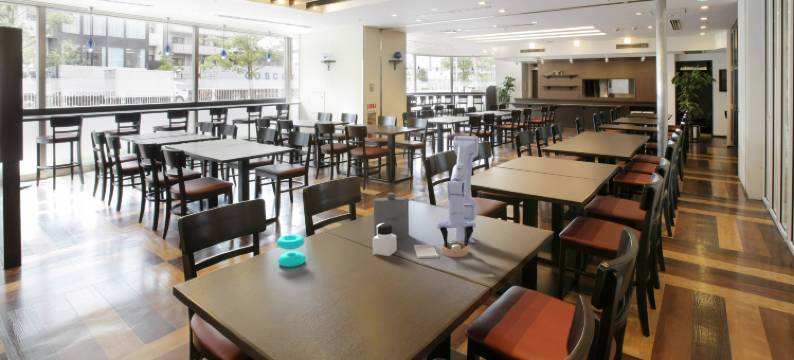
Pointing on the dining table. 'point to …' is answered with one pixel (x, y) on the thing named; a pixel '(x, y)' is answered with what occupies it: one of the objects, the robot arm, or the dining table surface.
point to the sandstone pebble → (456, 247)
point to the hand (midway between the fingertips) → (455, 245)
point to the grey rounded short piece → (452, 243)
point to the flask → (392, 214)
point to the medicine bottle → (384, 240)
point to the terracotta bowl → (454, 253)
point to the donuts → (291, 257)
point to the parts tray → (425, 251)
